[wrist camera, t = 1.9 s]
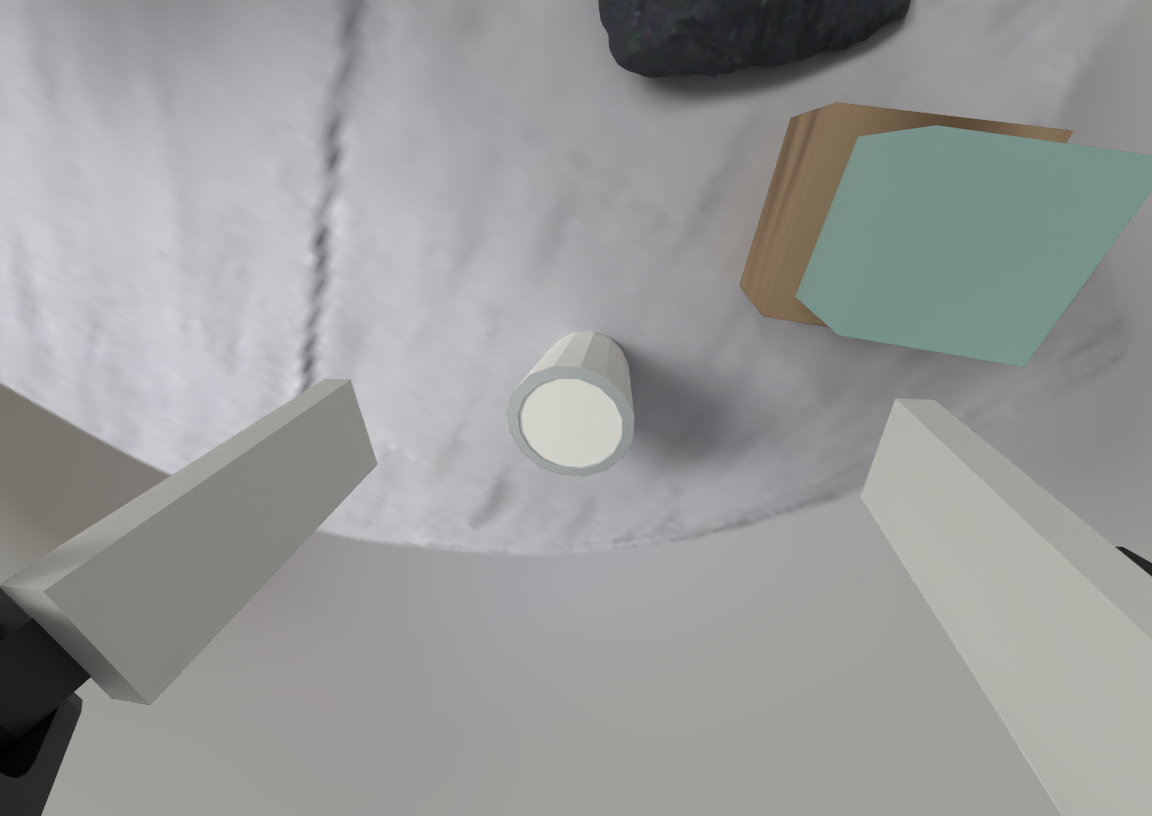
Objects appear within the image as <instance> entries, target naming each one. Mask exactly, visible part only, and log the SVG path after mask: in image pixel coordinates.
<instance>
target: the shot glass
mask: <svg viewBox="0 0 1152 816" xmlns="http://www.w3.org/2000/svg"><path fill="white" fill-rule="evenodd" d="M507 414H508V422H509V430H510V433H511V435H512V437H513V438H514V440H515V442H516V444H517V445H518V447H519V449H520V450H521V452H522V453H524V454H525V455H526V456H527V457H528V458H530V459H531V460H532V461H533V462H535V463H536V464H537V465H538V466H540V467H543V468H545V469H548V470H550V471H553V472H555V473H558V474H560V475H573V476H587V475H591V474H594V473H598V472H602V471H606V470H607V469H608V468H610V467H611V466H613V465H614V464H615V463H617V462H618V461H619V460H621V459H622V458H623V457H624V455H625V454H626V452H627V450H628V448H629V446H630V444H631V443H632V441H633V439H634V409H633V400H632V392H631V383H630V374H629V365H628V363H627V360H626V358H625V355H624V353H623V351H622V349H621V348H620V347H619V346H618V345H617V344H616V343H614V342H613V341H612V340H611V339H610V338H608V337H606V336H603V335H601V334H599V333H596V332H583V331H577V332H574V333H572V334H569V335H567V336H564V337H562V338H561V339H560V340H559V341H558V342H557V343H556V344H555V345H554V346H553V347H552V348H551V349H550V350H549V351H548V352H547V353H546V354H545V356H544V357H543V358H542V359H541V360H540V361H539V362H538V364H537V365H536V366H535V367H534V368H533V369H532V370H531V372H530V373H529V374H528V375H527V376H526V377H525V378H524V380H523V381H522V382H521V383H520V384H519V385H518V386H517V388H516V389H515V390H514V392H513V395H512V398H511V401H510V404H509V407H508V410H507Z"/></svg>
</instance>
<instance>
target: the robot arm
mask: <svg viewBox="0 0 1152 816" xmlns="http://www.w3.org/2000/svg"><path fill="white" fill-rule="evenodd" d="M376 465H377V461H376V458H375V455H374V452H373V449H372V446H371V442H370V439H369V436H368V433H367V430H366V427H365V424H364V421H363V417H362V414H361V411H360V408H359V405H358V402H357V399H356V396H355V392H354V389H353V386H352V383H351V380H341V379H324V380H322V381H321V382H319V383H317V384H316V385H314V386H313V387H311V388H310V389H308V390H306V391H305V392H303V393H302V394H300V395H298V396H297V397H295V398H294V399H292V400H291V401H289V402H287V403H286V404H284V405H283V406H281V407H279V408H278V409H276V410H275V411H273V412H272V413H270V414H268V415H267V416H265V417H264V418H262V419H260V420H259V421H257V422H256V423H254V424H253V425H251V426H249V427H248V428H246V429H245V430H243V431H241V432H240V433H238V434H237V435H235V436H234V437H232V438H230V439H229V440H227V441H226V442H224V443H222V444H221V445H219V446H218V447H216V448H215V449H213V450H211V451H210V452H208V453H207V454H205V455H203V456H202V457H200V458H199V459H197V460H195V461H194V462H192V463H191V464H189V465H188V466H186V467H184V468H183V469H181V470H180V471H178V472H176V473H175V474H173V475H172V476H170V477H169V478H167V479H166V480H164V481H163V482H161V483H159V484H157V485H156V486H154V487H153V488H151V489H150V490H148V491H146V492H145V493H143V494H142V495H140V496H139V497H137V498H135V499H134V500H132V501H131V502H129V503H127V504H126V505H125V506H123V507H121V508H119V509H118V510H116V511H115V512H113V513H112V514H110V515H108V516H107V517H105V518H104V519H102V520H100V521H99V522H97V523H96V524H94V525H93V526H91V527H89V528H88V529H86V530H85V531H83V532H82V533H80V534H78V535H77V536H75V537H74V538H72V539H70V540H69V541H67V542H66V543H64V544H62V545H61V546H59V547H58V548H56V549H54V550H53V551H51V552H50V553H48V554H47V555H45V556H43V557H42V558H40V559H39V560H37V561H36V562H34V563H33V564H31V565H29V566H28V567H26V568H25V569H23V570H21V571H20V572H18V573H17V574H15V575H13V576H12V577H10V578H9V579H7V580H5V581H4V582H2V583H1V584H0V816H41V814H42V812H43V809H44V807H45V804H46V801H47V799H48V796H49V794H50V791H51V788H52V786H53V783H54V781H55V778H56V776H57V773H58V770H59V768H60V765H61V763H62V760H63V757H64V755H65V752H66V750H67V747H68V745H69V742H70V739H71V737H72V734H73V731H74V729H75V726H76V724H77V721H78V719H79V716H80V713H81V709H82V699H81V698H80V697H78V695H77V694H75V693H74V691H76V690H77V689H78V688H79V687H80V686H81V685H82V684H83V683H85V682H86V681H87V680H88V679H89V678H90V677H91V678H92V679H93V680H94V681H95V682H96V683H97V684H98V685H99V686H100V687H101V688H102V689H103V690H104V691H105V692H106V693H107V694H108V695H109V696H110V697H111V698H112V699H118V700H123V701H129V702H134V703H140V704H145V705H151V704H152V703H153V702H154V701H155V700H156V699H157V698H158V697H159V695H160V694H161V693H162V692H163V691H164V690H165V689H166V688H167V687H168V686H169V685H170V684H171V683H172V682H173V681H174V679H175V678H176V677H177V676H178V675H179V674H180V673H181V672H182V671H183V670H184V669H185V667H187V666H188V665H189V664H190V663H191V661H192V660H193V659H194V658H195V657H196V656H197V655H198V654H199V653H200V652H201V651H202V650H203V649H204V648H205V647H206V646H207V645H208V644H209V642H210V641H211V640H212V639H213V638H214V637H215V636H216V635H217V634H218V633H219V632H220V631H221V630H222V629H223V628H224V627H225V625H226V624H227V623H228V622H229V621H230V620H231V619H232V618H233V617H234V616H235V615H236V614H237V613H238V612H239V611H240V610H241V609H242V607H243V606H244V605H245V604H246V603H247V602H248V601H249V600H250V599H251V598H252V597H253V596H254V595H255V594H256V592H258V591H259V589H260V588H261V587H262V586H263V585H264V584H265V583H266V582H267V581H268V580H269V579H270V578H271V577H272V576H273V575H274V573H275V572H276V571H277V570H278V569H279V568H280V567H281V566H282V565H283V564H284V563H285V562H286V561H287V560H288V559H289V558H290V557H291V555H292V554H293V553H294V552H295V551H296V550H297V549H298V548H299V547H300V546H301V545H302V544H303V543H304V541H306V539H308V537H309V536H310V535H311V534H312V533H313V532H314V531H315V530H316V529H317V528H318V527H319V526H320V525H321V524H322V523H323V522H324V521H325V519H326V518H327V517H328V516H329V515H330V514H331V513H332V512H333V511H334V510H335V509H336V508H337V507H338V506H339V505H340V504H341V503H342V501H343V500H344V499H345V498H346V497H347V496H348V495H349V494H350V493H351V492H352V491H353V490H354V489H355V488H356V487H357V486H358V484H359V483H360V482H361V481H362V480H363V479H364V478H365V477H366V476H367V475H368V474H369V473H370V472H371V471H372V470H373V469H374V468H375V466H376ZM861 499H862V500H863V502H864V504H865V505H866V507H867V508H868V510H869V511H870V513H871V515H872V516H873V518H874V519H875V521H876V522H877V524H878V526H879V527H880V528H881V530H882V532H883V534H884V535H885V537H886V538H887V540H888V541H889V543H890V545H891V546H892V548H893V549H894V551H895V553H896V554H897V556H898V557H899V559H900V561H901V562H902V564H903V565H904V567H905V568H906V570H907V572H908V573H909V575H910V576H911V578H912V579H913V581H914V583H915V584H916V586H917V587H918V589H919V590H920V592H921V593H922V595H923V597H924V598H925V600H926V602H927V603H928V605H929V606H930V608H931V609H932V611H933V613H934V614H935V616H936V617H937V619H938V621H939V622H940V624H941V625H942V627H943V628H944V630H945V632H946V633H947V635H948V636H949V638H950V640H951V641H952V643H953V644H954V646H955V648H956V649H957V651H958V652H959V654H960V655H961V657H962V658H963V660H964V662H965V663H966V665H967V666H968V668H969V670H970V671H971V673H972V674H973V676H974V678H975V679H976V681H977V682H978V684H979V685H980V687H981V689H982V690H983V692H984V693H985V695H986V697H987V698H988V700H989V701H990V703H991V704H992V706H993V708H994V709H995V711H996V712H997V714H998V715H999V717H1000V719H1001V720H1002V722H1003V723H1004V725H1005V726H1006V728H1007V730H1008V731H1009V733H1010V734H1011V736H1012V738H1013V739H1014V741H1015V742H1016V744H1017V746H1018V747H1019V749H1020V750H1021V752H1022V753H1023V755H1024V757H1025V758H1026V760H1027V761H1028V763H1029V764H1030V766H1031V768H1032V769H1033V771H1034V772H1035V774H1036V776H1037V777H1038V779H1039V780H1040V782H1041V783H1042V785H1043V787H1044V788H1045V790H1046V791H1047V793H1048V795H1049V796H1050V798H1051V799H1052V801H1053V802H1054V804H1055V805H1056V807H1057V809H1058V810H1059V812H1060V814H1061V815H1062V816H1152V563H1151V562H1149V561H1147V560H1145V559H1143V558H1141V557H1140V556H1138V555H1136V554H1135V553H1133V552H1131V551H1129V550H1127V549H1126V548H1124V547H1115V546H1113V545H1112V544H1111V543H1110V542H1109V541H1107V540H1106V539H1105V538H1104V537H1102V536H1101V535H1100V534H1099V533H1097V532H1096V531H1095V530H1094V529H1093V528H1091V527H1090V526H1089V525H1088V524H1086V523H1085V522H1084V521H1083V520H1082V519H1080V518H1079V517H1078V516H1076V515H1075V514H1074V513H1073V512H1072V511H1071V510H1069V509H1068V508H1067V507H1066V506H1064V505H1063V504H1062V503H1061V502H1059V501H1058V500H1057V499H1056V498H1054V497H1053V496H1052V495H1051V494H1050V493H1048V492H1047V491H1046V490H1044V488H1042V487H1041V486H1040V485H1039V484H1037V483H1036V482H1035V481H1033V480H1032V479H1031V478H1030V477H1029V476H1028V475H1026V474H1025V473H1024V472H1023V471H1021V470H1020V469H1019V468H1018V467H1016V466H1015V465H1014V464H1013V463H1012V462H1010V461H1009V460H1008V459H1007V458H1005V457H1004V456H1003V455H1002V454H1001V453H999V452H998V451H997V450H996V449H995V448H993V447H992V446H991V445H990V444H988V443H987V442H986V441H985V440H983V439H982V438H981V437H980V436H979V435H977V434H976V433H975V432H974V431H972V430H971V429H970V428H969V427H968V426H966V425H965V424H964V423H963V422H961V421H960V420H959V419H958V418H956V417H955V416H954V415H953V414H952V413H950V412H949V411H948V410H947V409H945V408H944V407H943V406H942V405H941V404H939V403H938V402H937V401H936V400H926V399H897V398H895V401H894V404H893V407H892V410H891V412H890V415H889V418H888V421H887V424H886V426H885V429H884V432H883V435H882V438H881V440H880V443H879V446H878V449H877V452H876V454H875V457H874V460H873V463H872V466H871V469H870V471H869V474H868V477H867V480H866V483H865V485H864V488H863V491H862V494H861Z"/></svg>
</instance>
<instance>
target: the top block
mask: <svg viewBox="0 0 1152 816" xmlns="http://www.w3.org/2000/svg"><path fill="white" fill-rule="evenodd" d="M1151 191H1152V155H1145V154H1138V153H1131V152H1124V151H1116V150H1109V149H1102V148H1095V147H1087V146H1081V145H1074V144H1066V143H1059V142H1052V141H1045V140H1038V139H1031V138H1023V137H1016V136H1009V135H1002V134H995V133H988V132H981V131H973V130H966V129H959V128H952V127H945V126H938V125H935V126H928V127H921V128H914V129H907V130H900V131H894V132H887V133H880V134H873V135H866V136H859V137H858V138H857V141H856V143H855V146H854V148H853V151H852V153H851V156H850V158H849V161H848V164H847V166H846V169H845V171H844V174H843V176H842V179H841V181H840V184H839V187H838V189H837V192H836V194H835V197H834V199H833V202H832V204H831V207H830V209H829V212H828V215H827V217H826V220H825V222H824V225H823V227H822V230H821V232H820V235H819V237H818V240H817V243H816V245H815V248H814V250H813V253H812V255H811V258H810V260H809V263H808V266H807V268H806V271H805V273H804V276H803V278H802V281H801V283H800V286H799V288H798V291H797V294H796V296H795V297H796V298H797V299H798V300H799V301H800V302H802V303H803V304H804V305H805V306H806V307H807V308H808V309H809V310H811V311H812V312H813V313H814V314H815V315H816V316H817V317H818V318H820V319H821V320H822V321H823V322H824V323H825V324H826V325H827V326H829V327H830V328H831V329H832V330H833V331H834V332H835V333H836V334H838V335H840V336H845V337H851V338H857V339H863V340H869V341H874V342H880V343H886V344H892V345H898V346H904V347H909V348H915V349H921V350H927V351H933V352H938V353H944V354H950V355H956V356H962V357H967V358H973V359H979V360H985V361H991V362H996V363H1002V364H1008V365H1014V366H1020V367H1024V366H1025V365H1026V363H1027V362H1028V361H1029V359H1030V358H1031V357H1032V355H1033V354H1034V352H1035V351H1036V350H1037V348H1038V347H1039V346H1040V344H1041V343H1042V341H1043V340H1044V339H1045V337H1046V336H1047V334H1048V333H1049V332H1050V330H1051V329H1052V328H1053V326H1054V325H1055V323H1056V322H1057V321H1058V319H1059V318H1060V317H1061V315H1062V314H1063V312H1064V311H1065V310H1066V308H1067V307H1068V306H1069V304H1070V303H1071V301H1072V300H1073V299H1074V297H1075V296H1076V294H1077V293H1078V292H1079V290H1080V289H1081V288H1082V286H1083V285H1084V283H1085V282H1086V281H1087V279H1088V278H1089V277H1090V275H1091V274H1092V272H1093V271H1094V270H1095V268H1096V267H1097V266H1098V264H1099V263H1100V261H1101V260H1102V259H1103V257H1104V256H1105V254H1106V253H1107V252H1108V250H1109V249H1110V248H1111V246H1112V245H1113V243H1114V242H1115V241H1116V239H1117V238H1118V236H1119V235H1120V234H1121V232H1122V231H1123V230H1124V228H1125V227H1126V225H1127V224H1128V223H1129V221H1130V220H1131V219H1132V217H1133V216H1134V214H1135V213H1136V212H1137V210H1138V209H1139V208H1140V206H1141V204H1142V203H1143V202H1144V201H1145V199H1146V198H1147V196H1148V195H1149V194H1150V192H1151Z"/></svg>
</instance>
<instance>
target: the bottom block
mask: <svg viewBox="0 0 1152 816" xmlns="http://www.w3.org/2000/svg"><path fill="white" fill-rule="evenodd" d="M935 125H938V126H945V127H952V128H959V129H966V130H973V131H981V132H988V133H995V134H1002V135H1009V136H1016V137H1023V138H1031V139H1038V140H1045V141H1052V142H1059V143H1067V141H1068V139H1069V137H1070V136H1071V134H1072V132H1073V131H1071V130H1063V129H1054V128H1046V127H1038V126H1029V125H1021V124H1013V123H1004V122H996V121H988V120H979V119H971V118H962V117H954V116H946V115H937V114H929V113H921V112H912V111H904V110H896V109H887V108H879V107H871V106H862V105H854V104H845V103H834V104H831V105H828V106H825V107H822V108H819V109H816V110H813V111H810V112H807V113H804V114H801V115H798V116H795V117H792V118H791V119H790V122H789V126H788V129H787V132H786V135H785V139H784V142H783V145H782V148H781V152H780V155H779V158H778V161H777V165H776V168H775V171H774V174H773V178H772V181H771V184H770V187H769V191H768V194H767V197H766V201H765V204H764V207H763V210H762V214H761V217H760V220H759V223H758V227H757V230H756V233H755V236H754V240H753V243H752V246H751V249H750V253H749V256H748V259H747V262H746V266H745V269H744V272H743V275H742V279H741V282H740V287H741V288H742V289H743V291H744V292H745V293H746V295H747V296H748V298H749V299H750V300H751V302H752V303H753V304H754V306H755V307H756V308H757V310H758V311H759V312H760V314H761V315H762V316H763V317H769V318H775V319H782V320H788V321H795V322H801V323H807V324H814V325H820V326H826V327H829V326H827V325H826V324H825V323H824V322H823V321H822V320H821V319H820V318H818V317H817V316H816V315H815V314H814V313H813V312H812V311H811V310H809V309H808V308H807V307H806V306H805V305H804V304H803V303H802V302H800V301H799V300H798V299H797V298H796V297H795V296H796V294H797V291H798V288H799V286H800V283H801V281H802V278H803V276H804V273H805V271H806V268H807V266H808V263H809V260H810V258H811V255H812V253H813V250H814V248H815V245H816V243H817V240H818V237H819V235H820V232H821V230H822V227H823V225H824V222H825V220H826V217H827V215H828V212H829V209H830V207H831V204H832V202H833V199H834V197H835V194H836V192H837V189H838V187H839V184H840V181H841V179H842V176H843V174H844V171H845V169H846V166H847V164H848V161H849V158H850V156H851V153H852V151H853V148H854V146H855V143H856V141H857V138H858V137H859V136H866V135H873V134H880V133H887V132H894V131H900V130H907V129H914V128H921V127H928V126H935Z"/></svg>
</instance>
